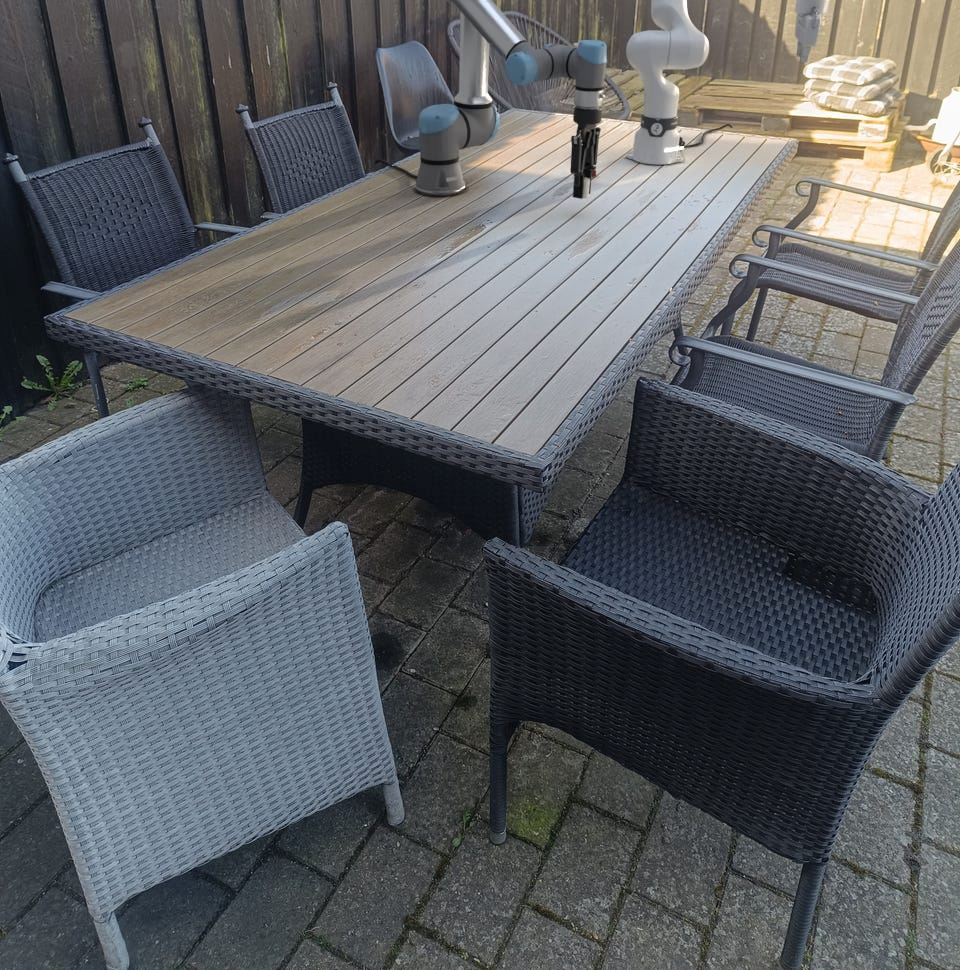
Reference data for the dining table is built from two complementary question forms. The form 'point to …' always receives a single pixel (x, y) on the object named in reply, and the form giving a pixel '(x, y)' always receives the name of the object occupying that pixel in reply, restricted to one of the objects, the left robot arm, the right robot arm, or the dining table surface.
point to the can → (586, 187)
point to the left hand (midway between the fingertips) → (581, 195)
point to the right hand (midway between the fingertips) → (801, 59)
